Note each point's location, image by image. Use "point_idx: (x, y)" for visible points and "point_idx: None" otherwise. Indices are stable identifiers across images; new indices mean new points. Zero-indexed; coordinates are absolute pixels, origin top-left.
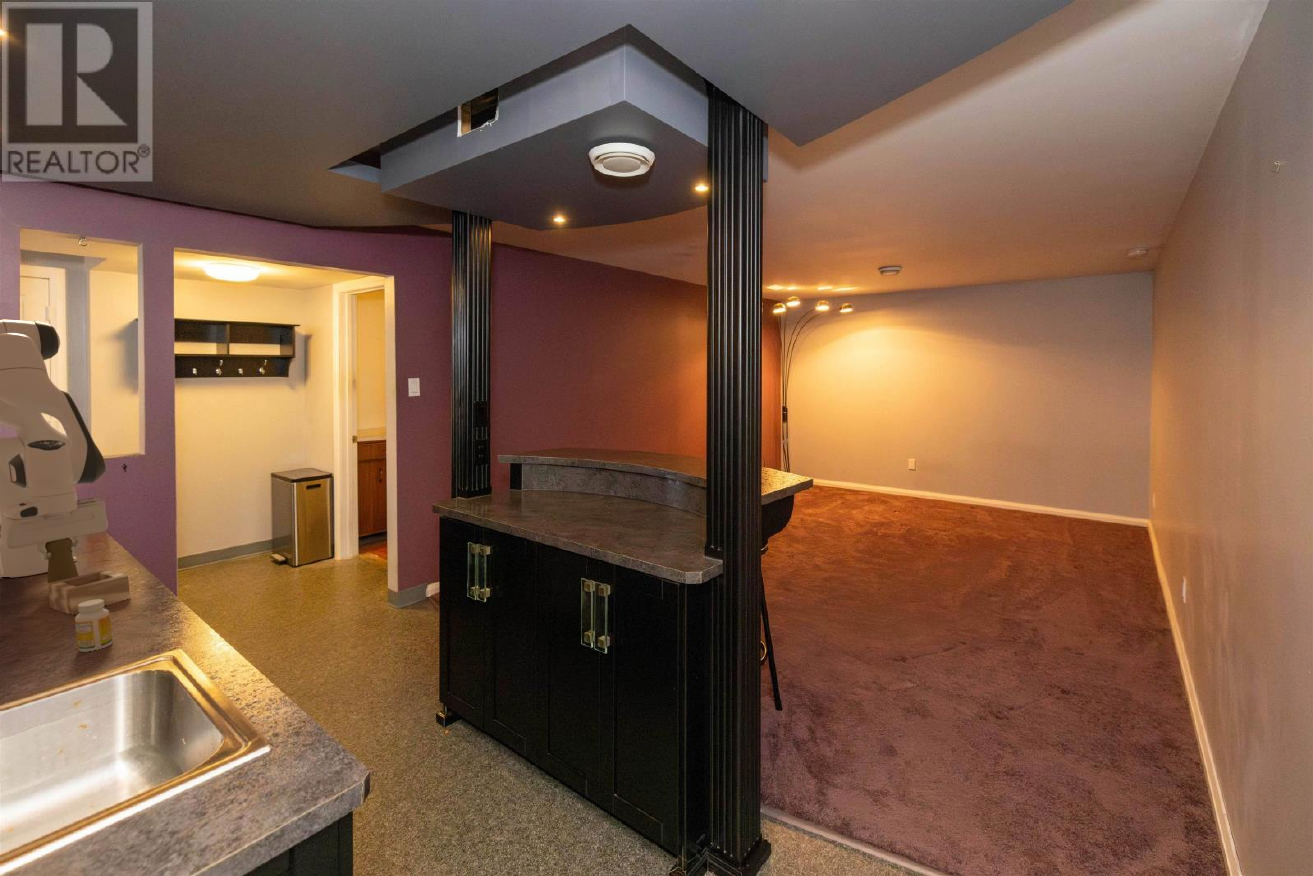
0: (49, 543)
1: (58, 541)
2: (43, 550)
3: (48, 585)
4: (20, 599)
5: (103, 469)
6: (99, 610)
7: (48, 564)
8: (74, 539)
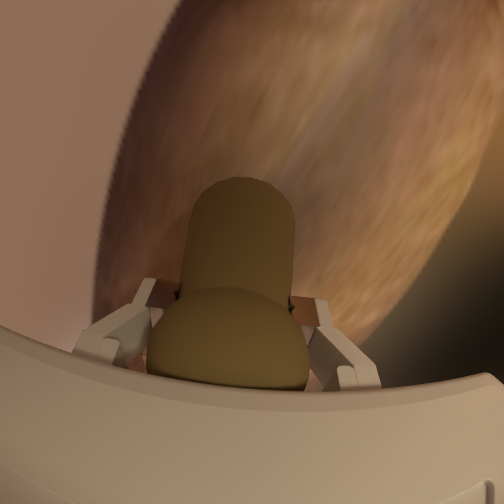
0: None
1: None
2: (134, 355)
3: (144, 354)
4: (145, 137)
5: None
6: None
7: (183, 262)
8: (327, 383)
